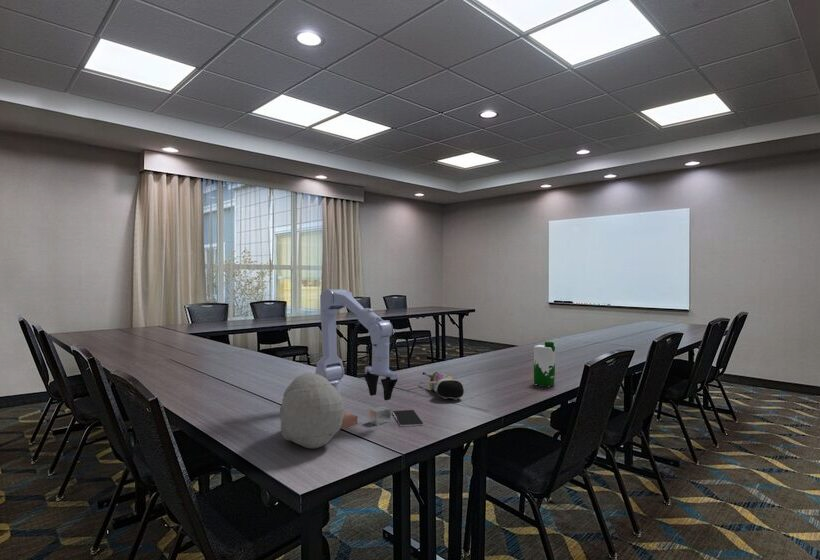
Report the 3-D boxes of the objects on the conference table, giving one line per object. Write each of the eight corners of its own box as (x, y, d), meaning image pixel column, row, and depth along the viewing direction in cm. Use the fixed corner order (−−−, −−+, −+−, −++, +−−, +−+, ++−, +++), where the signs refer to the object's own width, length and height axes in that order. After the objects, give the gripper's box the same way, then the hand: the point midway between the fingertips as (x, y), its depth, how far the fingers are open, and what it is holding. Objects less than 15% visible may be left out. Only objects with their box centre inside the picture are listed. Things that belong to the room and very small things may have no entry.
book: (312, 421, 147) (312, 412, 147) (331, 415, 153) (331, 407, 153) (338, 431, 137) (338, 421, 137) (357, 425, 143) (357, 416, 143)
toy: (409, 386, 197) (426, 401, 168) (411, 367, 198) (427, 377, 168) (458, 388, 202) (482, 402, 173) (459, 369, 203) (483, 380, 173)
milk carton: (550, 388, 195) (551, 343, 195) (531, 385, 201) (531, 341, 201) (556, 384, 202) (557, 341, 202) (537, 381, 208) (538, 339, 208)
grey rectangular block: (368, 422, 145) (369, 409, 145) (382, 418, 149) (382, 405, 149) (376, 425, 142) (376, 411, 142) (390, 421, 146) (390, 408, 146)
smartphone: (400, 425, 141) (391, 410, 156) (400, 428, 141) (391, 414, 156) (424, 423, 143) (413, 409, 157) (424, 427, 143) (413, 413, 157)
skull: (321, 422, 145) (322, 362, 145) (350, 450, 121) (351, 379, 121) (269, 429, 137) (270, 366, 137) (288, 462, 113) (290, 385, 113)
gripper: (358, 355, 148) (357, 395, 148) (385, 361, 138) (384, 404, 138) (374, 353, 153) (373, 391, 153) (401, 358, 143) (401, 400, 142)
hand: (380, 397), depth 146 cm, fingers open, 7 cm apart
